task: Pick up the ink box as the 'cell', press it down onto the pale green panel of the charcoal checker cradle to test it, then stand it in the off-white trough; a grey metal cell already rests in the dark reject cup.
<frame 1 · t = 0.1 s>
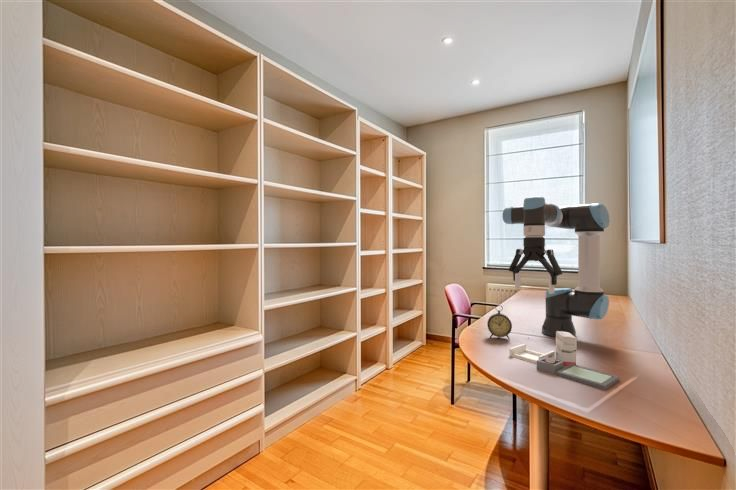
hand: (533, 291, 133), 28 cm above the table, fingers open, 13 cm apart
alarm clock: (499, 338, 167), on the table
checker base: (586, 380, 116), on the table
trough: (531, 359, 136), on the table
reject cup: (550, 372, 124), on the table
pale green panel: (586, 375, 116), point 2 cm above the table, slide at -0.8 cm
ink box: (565, 365, 131), on the table
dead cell: (550, 369, 124), point 1 cm above the table, touching reject cup
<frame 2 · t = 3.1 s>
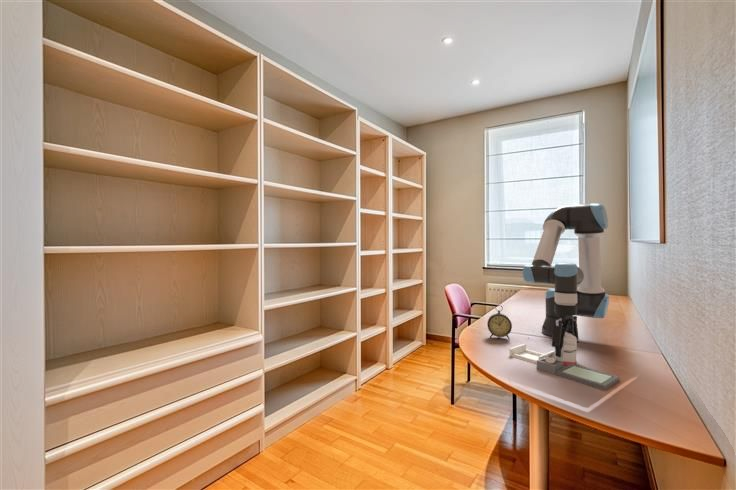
hand: (565, 361, 131), 1 cm above the table, fingers closed on ink box, 9 cm apart
ink box: (565, 365, 131), on the table, touching gripper
everything else where it was.
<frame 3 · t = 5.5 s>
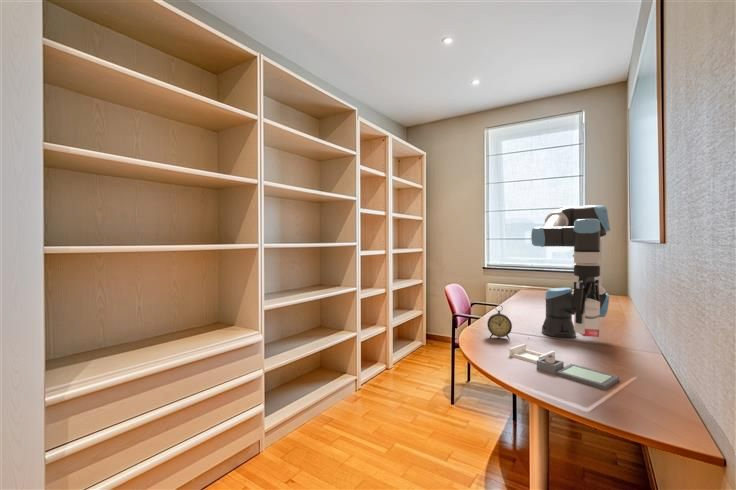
hand: (586, 330, 116), 17 cm above the table, fingers closed on ink box, 9 cm apart
ink box: (586, 334, 116), point 16 cm above the table, touching gripper
everything else where it was.
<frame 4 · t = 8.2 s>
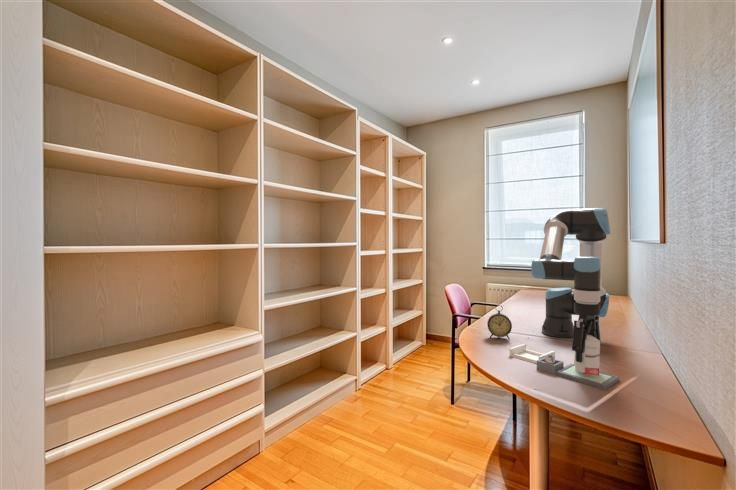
hand: (586, 367, 117), 4 cm above the table, fingers closed on ink box, 9 cm apart
ink box: (586, 371, 117), point 3 cm above the table, touching gripper
everything else where it was.
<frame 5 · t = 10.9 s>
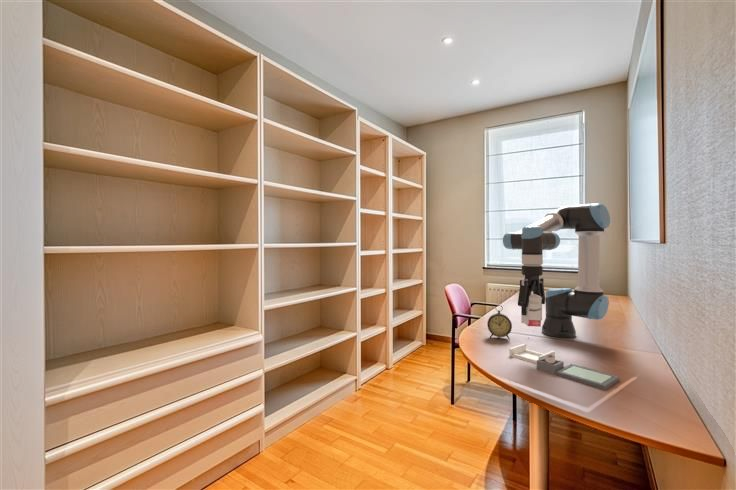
hand: (531, 321, 136), 15 cm above the table, fingers closed on ink box, 9 cm apart
ink box: (531, 324, 136), point 14 cm above the table, touching gripper
everything else where it was.
when the fingers open (3 cm above the table, at t = 13.4 s): ink box stays where it is, resting on trough.
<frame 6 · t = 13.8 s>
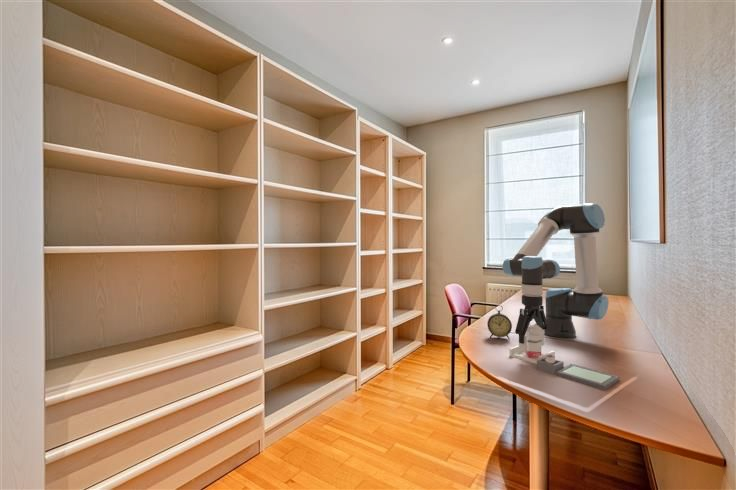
hand: (531, 348, 136), 5 cm above the table, fingers open, 13 cm apart
ink box: (532, 355, 136), point 2 cm above the table, touching trough
everything else where it was.
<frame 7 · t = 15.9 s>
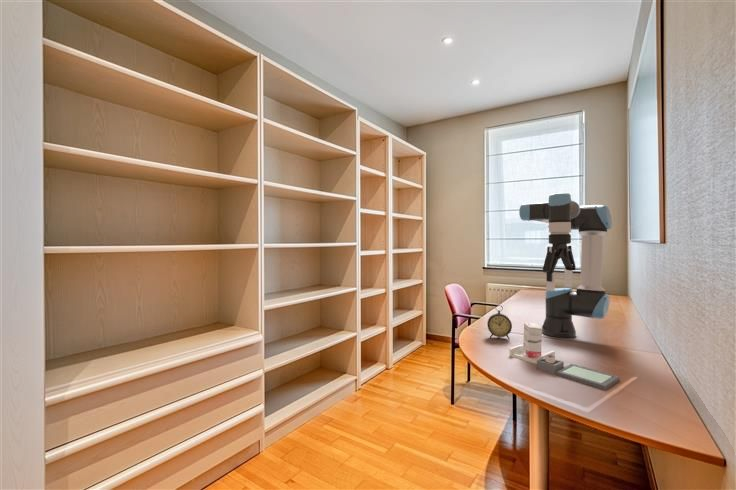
hand: (559, 288, 133), 29 cm above the table, fingers open, 13 cm apart
nothing on the table moved.
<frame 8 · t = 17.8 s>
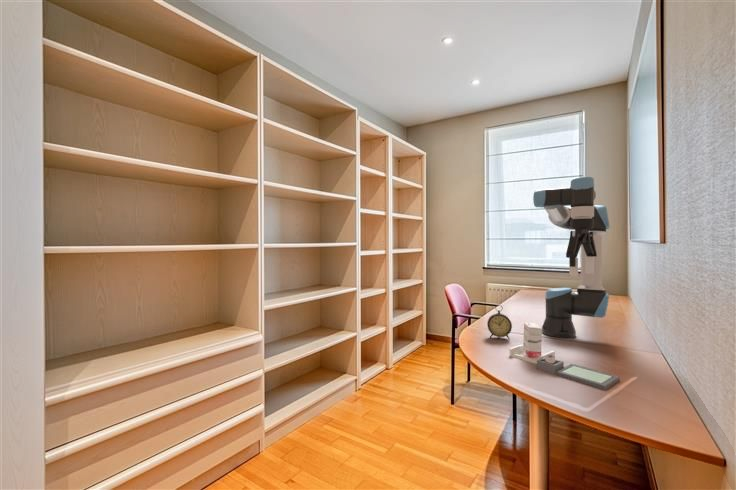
hand: (581, 274, 129), 35 cm above the table, fingers open, 13 cm apart
nothing on the table moved.
at the end: ink box 0.3 cm off-centre on the trough, point 1.8 cm above the trough's base; ink box tilted 0°; the gripper is holding nothing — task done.
